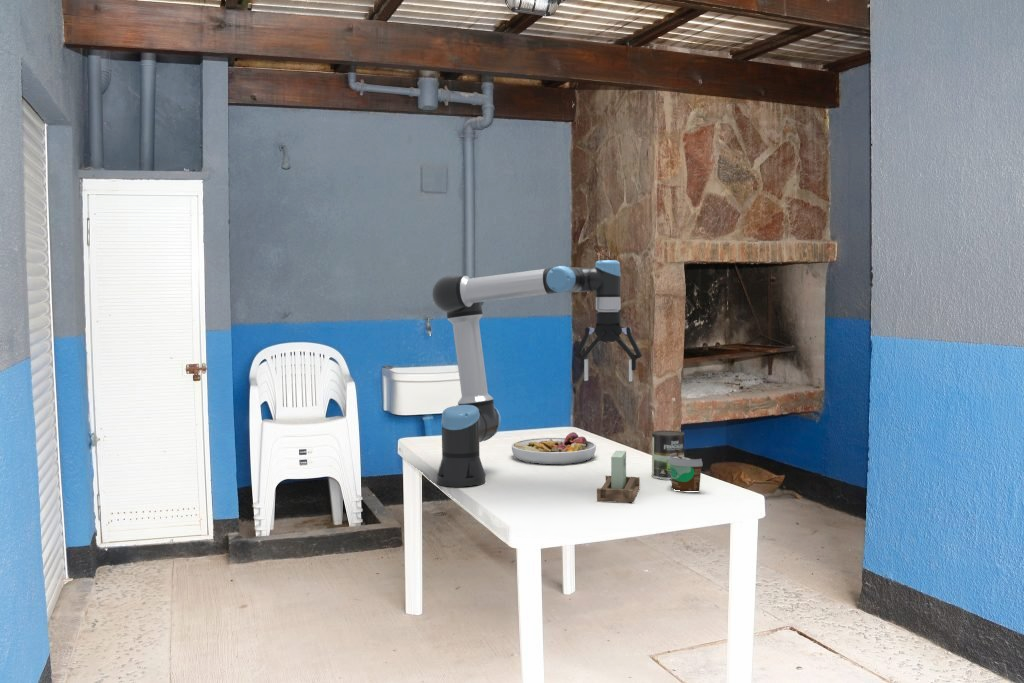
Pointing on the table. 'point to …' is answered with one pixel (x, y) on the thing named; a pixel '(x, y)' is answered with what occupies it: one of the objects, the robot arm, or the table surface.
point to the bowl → (554, 450)
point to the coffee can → (665, 451)
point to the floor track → (619, 490)
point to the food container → (685, 473)
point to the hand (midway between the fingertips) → (608, 380)
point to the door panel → (618, 470)
